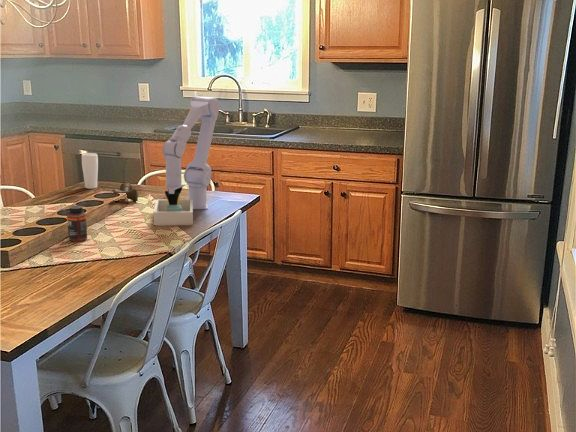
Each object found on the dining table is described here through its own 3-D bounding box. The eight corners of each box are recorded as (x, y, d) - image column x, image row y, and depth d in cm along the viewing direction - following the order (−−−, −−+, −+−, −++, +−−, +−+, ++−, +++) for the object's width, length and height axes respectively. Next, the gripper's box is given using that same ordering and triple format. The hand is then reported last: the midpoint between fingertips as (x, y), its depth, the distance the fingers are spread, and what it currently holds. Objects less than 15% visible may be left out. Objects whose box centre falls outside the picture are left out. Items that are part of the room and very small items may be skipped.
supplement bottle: (89, 236, 211) (87, 204, 208) (84, 242, 205) (82, 209, 202) (71, 236, 211) (69, 204, 208) (66, 242, 205) (64, 208, 202)
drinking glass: (80, 188, 272) (78, 155, 268) (87, 185, 279) (85, 152, 275) (94, 190, 271) (93, 156, 267) (101, 186, 278) (100, 153, 274)
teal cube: (167, 217, 234) (167, 205, 232) (180, 217, 235) (180, 204, 234) (167, 221, 229) (167, 208, 228) (181, 221, 230) (181, 208, 229)
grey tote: (156, 211, 243) (156, 199, 242) (192, 211, 245) (192, 199, 244) (153, 225, 226) (153, 212, 224) (192, 225, 228) (192, 212, 227)
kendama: (138, 194, 270) (138, 205, 251) (115, 195, 268) (113, 206, 249) (137, 180, 269) (137, 190, 250) (114, 181, 266) (112, 191, 248)
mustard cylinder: (165, 210, 239) (165, 193, 237) (178, 209, 242) (177, 191, 240) (170, 214, 235) (169, 196, 233) (182, 212, 238) (182, 194, 236)
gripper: (182, 177, 227) (182, 213, 231) (186, 169, 241) (186, 202, 245) (162, 176, 227) (163, 212, 231) (168, 168, 241) (168, 202, 245)
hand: (174, 207), depth 238 cm, fingers closed on mustard cylinder, 5 cm apart
